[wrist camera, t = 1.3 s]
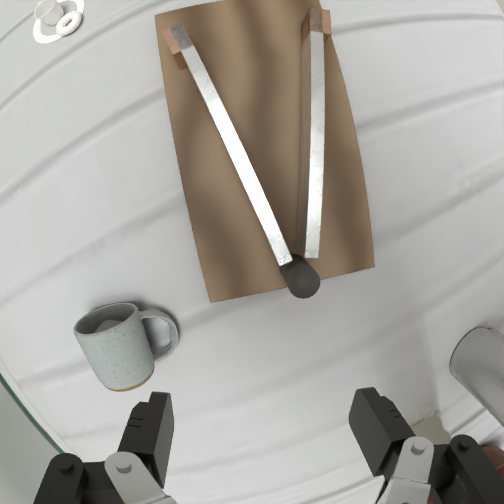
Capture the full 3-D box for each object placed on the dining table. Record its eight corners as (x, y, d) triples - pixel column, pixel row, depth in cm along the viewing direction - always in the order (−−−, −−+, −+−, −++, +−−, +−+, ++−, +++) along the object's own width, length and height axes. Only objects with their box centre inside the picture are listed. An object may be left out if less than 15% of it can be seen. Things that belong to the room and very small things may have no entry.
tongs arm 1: (315, 248, 31) (326, 258, 27) (295, 248, 31) (304, 257, 27) (319, 27, 26) (329, 10, 22) (300, 24, 25) (309, 7, 22)
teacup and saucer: (91, 26, 25) (78, 12, 21) (38, 60, 25) (22, 50, 21) (81, -14, 23) (69, -29, 19) (32, 17, 23) (18, 6, 19)
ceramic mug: (112, 364, 34) (93, 400, 26) (88, 307, 32) (61, 335, 25) (188, 353, 34) (181, 391, 27) (168, 291, 32) (153, 320, 25)
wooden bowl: (402, 510, 49) (415, 537, 39) (451, 450, 44) (472, 479, 34) (465, 487, 52) (479, 508, 42) (510, 427, 46) (530, 448, 36)
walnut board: (314, -2, 26) (328, -30, 20) (370, 264, 33) (397, 281, 27) (156, 19, 25) (143, -9, 19) (210, 299, 32) (206, 325, 26)
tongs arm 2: (284, 250, 31) (292, 260, 27) (266, 258, 31) (271, 269, 27) (187, 39, 25) (182, 22, 21) (169, 47, 25) (161, 31, 21)
